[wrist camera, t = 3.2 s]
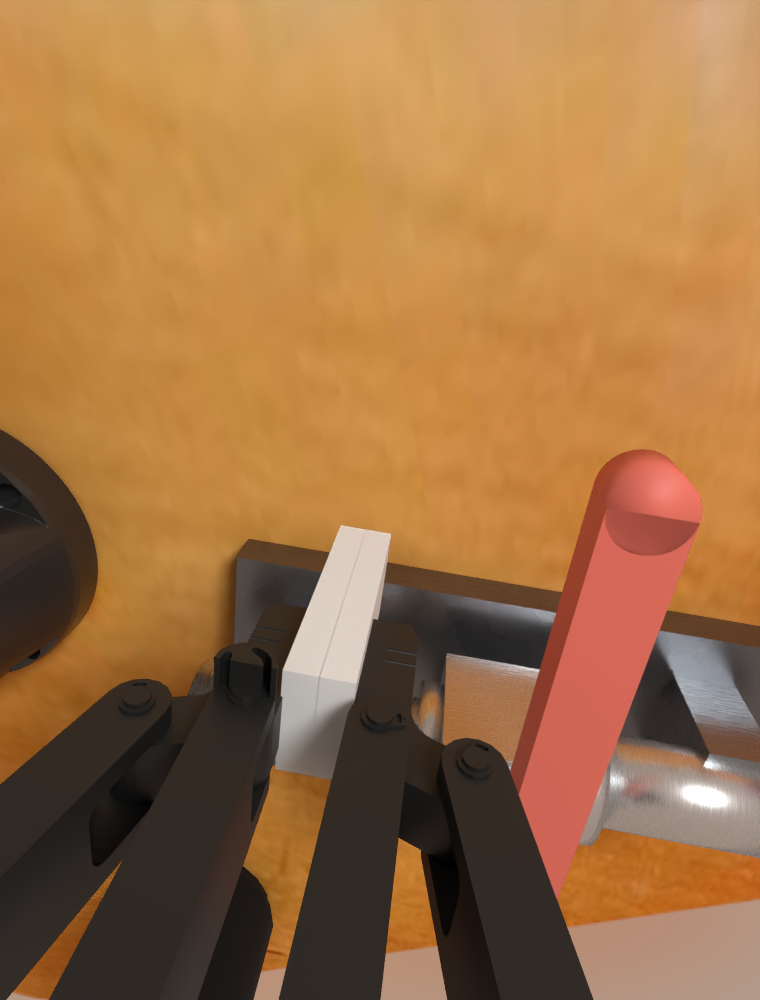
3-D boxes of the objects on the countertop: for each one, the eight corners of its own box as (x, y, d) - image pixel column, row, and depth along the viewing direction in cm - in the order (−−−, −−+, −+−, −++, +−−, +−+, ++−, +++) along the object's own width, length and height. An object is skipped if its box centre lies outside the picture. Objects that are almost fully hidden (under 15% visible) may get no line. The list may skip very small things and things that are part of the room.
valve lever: (541, 919, 24) (547, 970, 22) (457, 902, 24) (456, 952, 23) (712, 458, 16) (739, 485, 15) (585, 438, 16) (598, 464, 15)
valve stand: (242, 685, 38) (148, 885, 27) (249, 539, 34) (141, 702, 22) (719, 774, 36) (835, 1026, 25) (788, 631, 32) (964, 856, 21)
